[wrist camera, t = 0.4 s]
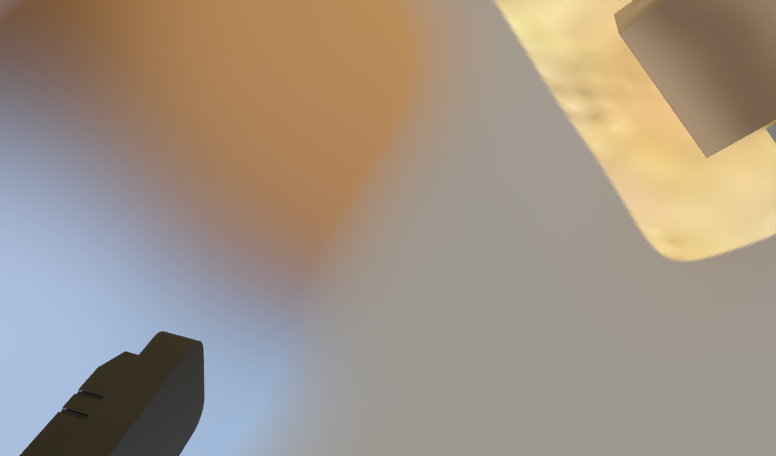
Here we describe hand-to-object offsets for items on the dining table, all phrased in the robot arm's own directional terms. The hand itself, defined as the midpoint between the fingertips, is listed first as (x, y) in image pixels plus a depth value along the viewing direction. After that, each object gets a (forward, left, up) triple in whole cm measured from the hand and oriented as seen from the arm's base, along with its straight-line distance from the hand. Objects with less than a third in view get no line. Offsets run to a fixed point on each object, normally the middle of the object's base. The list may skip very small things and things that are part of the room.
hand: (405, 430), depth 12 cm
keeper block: (-8, +5, -25) cm, 27 cm away
